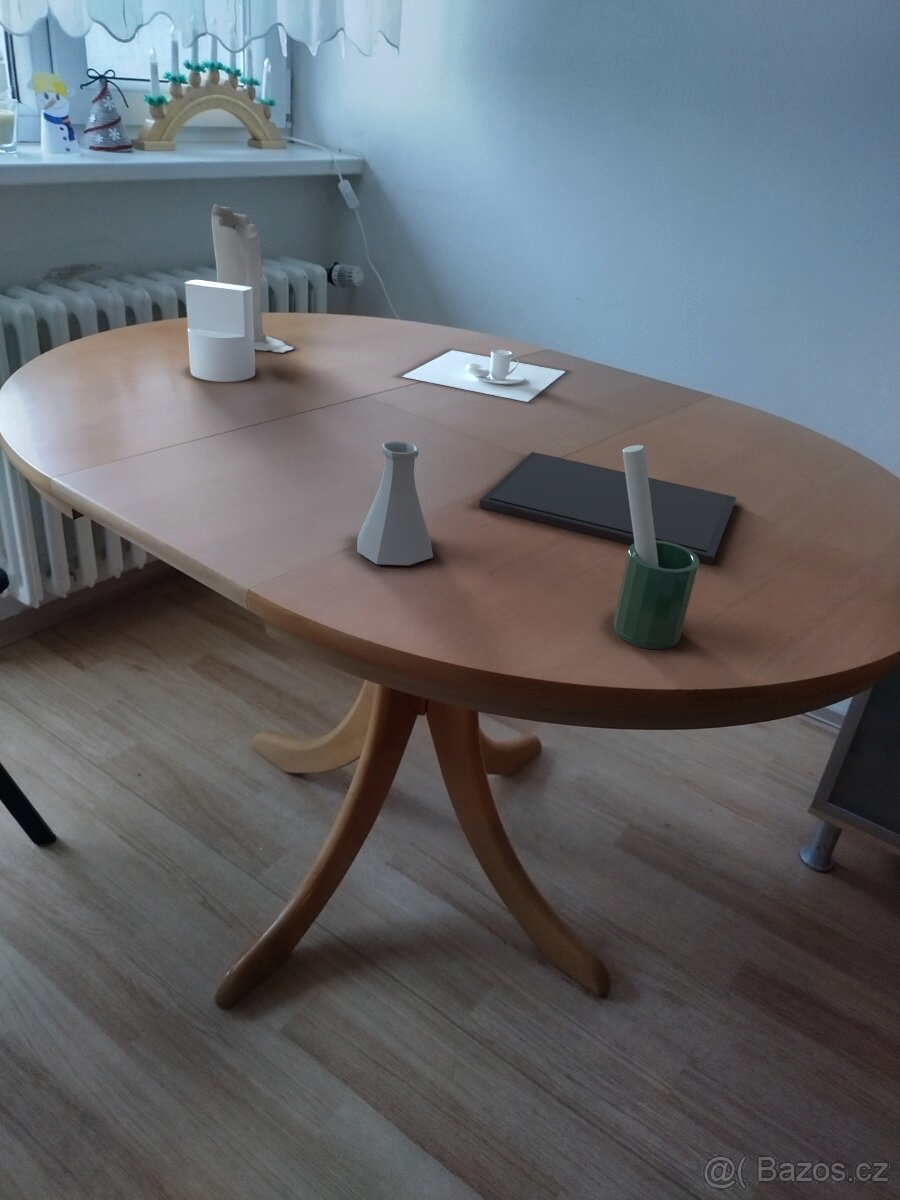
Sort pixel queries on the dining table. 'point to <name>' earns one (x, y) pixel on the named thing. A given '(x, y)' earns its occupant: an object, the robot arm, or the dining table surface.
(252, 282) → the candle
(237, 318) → the base with upright slab
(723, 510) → the tablet
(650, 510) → the stylus
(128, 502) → the dining table surface
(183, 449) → the dining table surface
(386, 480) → the flask
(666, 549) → the pen holder
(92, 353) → the dining table surface
